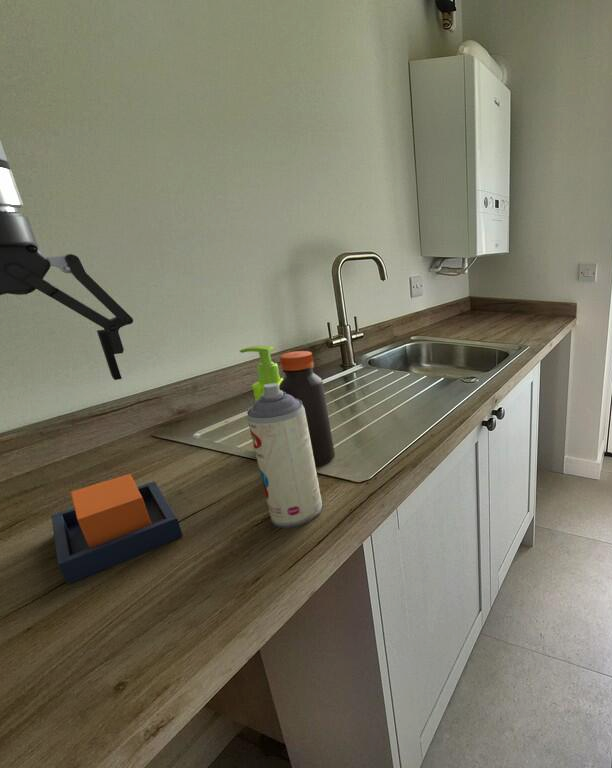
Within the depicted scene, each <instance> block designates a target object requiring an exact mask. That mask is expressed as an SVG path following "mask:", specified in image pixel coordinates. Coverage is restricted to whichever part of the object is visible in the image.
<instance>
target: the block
mask: <svg viewBox="0 0 612 768" xmlns="http://www.w3.org/2000/svg"><path fill="white" fill-rule="evenodd" d="M137 487H138V486H137V484H136V482H135V480H134V478H133V477H132V475H131V473H127V474H125V475H121V476H118V477H114V478H112V479H109V480H105V481H102V482H99V483H95V484H91V485H89V486H86V487H82V488H78V489H75V490H72V491H70V496H71V499H72V504H73V508H75V512H76V516H77V520H78V523H79V525H80V527H81V530H82V532H83V535H84V537H85V539H86V542H87V544H88V546H89V548H92V547H94V546H97V545H99V544H102V543H105V542H107V541H110V540H112V539H115V538H118V537H120V536H123V535H125V534H128V533H130V532H133V531H136V530H138V529H141V528H143V527H146V526H149V525H151V521H150V518H149V515H148V512H147V509H146V506H145V504H144V501H143V498H142V496H141V494H140V492H139V490H138V488H137Z"/></svg>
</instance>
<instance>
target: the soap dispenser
mask: <svg viewBox="0 0 612 768" xmlns="http://www.w3.org/2000/svg"><path fill="white" fill-rule="evenodd" d="M272 351H275V347H274V346H269V345H253V346H248V347H245V348H242V349H240V350H239V352H240V353H241V354H243V353H249V352H253V353H254V352H255V353H257V352H258V355H259V360H260V363H259V364H257V365H256V373H257V376H258V381H257V382H254V383H253V384H252V391H253V395H254V399H255V402H256V401H257V400H258V399H260V398H259V397H260V396H262V394H263V393H264V387H263V386H264V385H266V384H270V383H277V384H278V386H280V383H281V382H282V380H283V379H284V378H285V377H281V376H280V371H279V365H278V363H277V362H274V361H273V360H272V357H271V356H272V355H271V352H272Z"/></svg>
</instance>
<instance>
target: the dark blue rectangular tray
mask: <svg viewBox="0 0 612 768" xmlns="http://www.w3.org/2000/svg"><path fill="white" fill-rule="evenodd" d="M137 488H138V490H139V492H140V494H141V496H142V498H143V501H144V504H145V506H146V509H147V512H148V515H149V518H150V521H151V525H149V526H146V527H143V528H141V529H138V530H136V531H133V532H130V533H128V534H125V535H123V536H120V537H118V538H115V539H112V540H110V541H107V542H105V543H102V544H99V545H97V546H94V547H92V548H89V546H88V544H87V542H86V539H85V537H84V535H83V532H82V530H81V527H80V525H79V523H78V520H77V516H76V512H75V508H74V507H71V508H69V509H68V508H67V509H65V510H62V511H59V512H56V513H53V514H51V515H50V517H51V523H52V531H53V537H54V545H55V553H56V559H57V565H58V567H59V569H60V572H61V574H62V576H63V578H64V580H65V582H66V584H67V585H68V586H69V585H70V584H71V585H72V584H73V583H75V582H78V581H81V580H83V579H85V578H88V577H90V576H92V575H94V574H97V573H100V572H101V571H104V570H107V569H109V568H111V567H114V566H117V565H119V564H121V563H123V562H127V561H128V560H131V559H133V558H135V557H137V556H140V555H142V554H144V553H147V552H149V551H152V550H154V549H156V548H159V547H161V546H164V545H166V544H168V543H170V542H173V541H175V540H176V541H177V540H178V539H180V538H183V537H184V534H183V532H182V529H181V525H180V523H179V520H178V517H177V515H176V514H175V512H174V510H173V509H172V507H171V506H170V504H169V502H168V501H167V499H166V497H165V496H164V494H163V492H162V490H161V489H160V487H159V486H158V484H157V483H156V481H155V480H154V481H150V482H148V483H144V484H141V485H139V486H137Z"/></svg>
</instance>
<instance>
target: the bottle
mask: <svg viewBox="0 0 612 768" xmlns="http://www.w3.org/2000/svg"><path fill="white" fill-rule="evenodd" d="M279 360H280V361H279V362H280V366H281V369H282V373H284V376H285V377H283V378H284V379H283V380H282V382H281V383H280V386H279V389H280V390H282V391H283V392H285V393H286V394H289V395H291V396H293V397H294V399H299V400H301V401H302V405H303V407H304V409H305V413H306V419H307V424H308V430H309V435H310V440H311V446H312V451H313V457H314V462H315V467H320V466H323V465H326V464H327V463H329V462H330V461H332V460H333V459H334V457H335V448H334V443H333V442H334V441H333V436H332V431H331V430H332V429H331V423H330V418H329V412H328V407H327V406H328V405H327V400H326V393H325V387H324V382H323V379H322V378H321V377H320V376H319V375H318V374H316V373H314V368H315V364H314V363H315V362H314V358H313V352H312V351H307V350H298V351H297V350H295V351H289V352H285V353H282V354H281V355H280V356H279Z"/></svg>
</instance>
